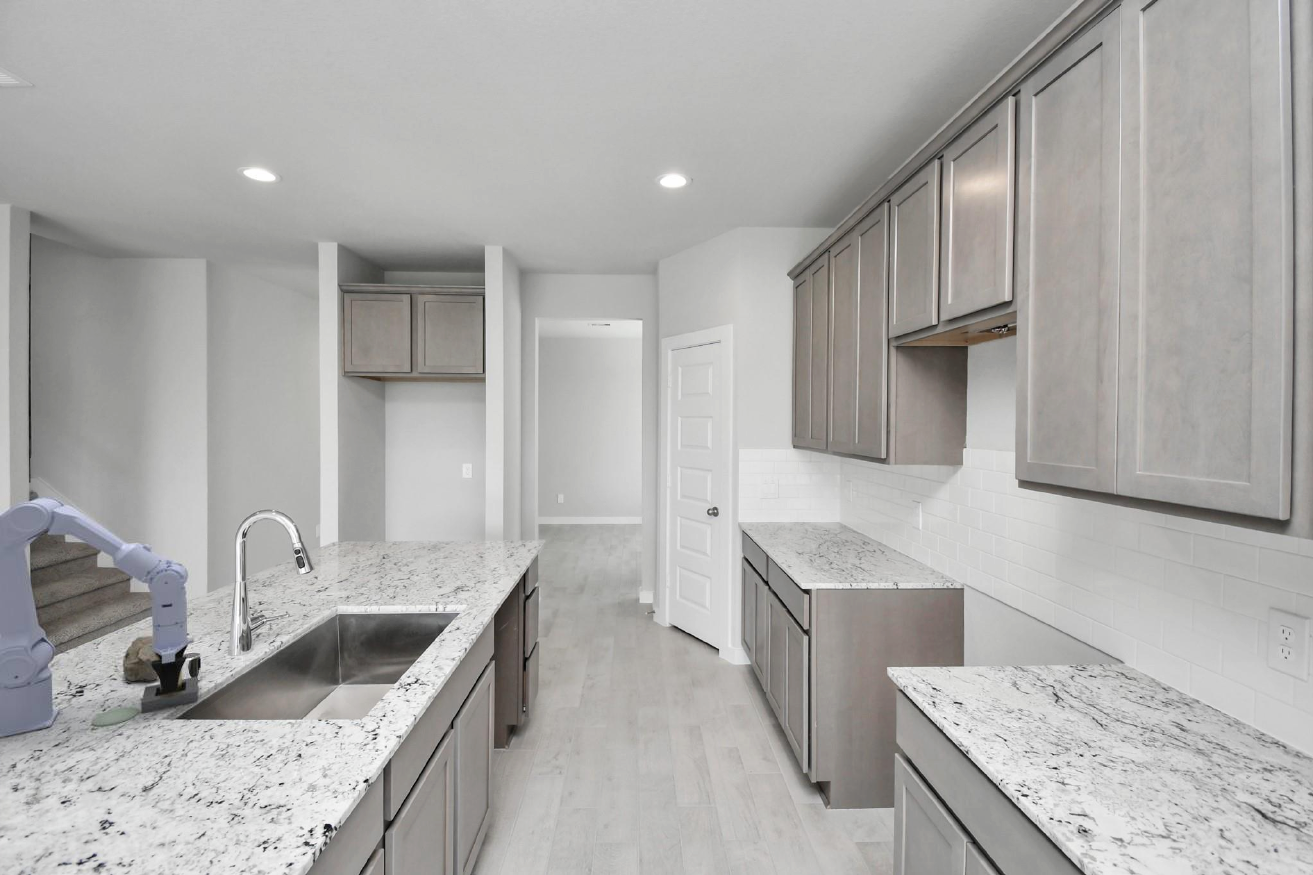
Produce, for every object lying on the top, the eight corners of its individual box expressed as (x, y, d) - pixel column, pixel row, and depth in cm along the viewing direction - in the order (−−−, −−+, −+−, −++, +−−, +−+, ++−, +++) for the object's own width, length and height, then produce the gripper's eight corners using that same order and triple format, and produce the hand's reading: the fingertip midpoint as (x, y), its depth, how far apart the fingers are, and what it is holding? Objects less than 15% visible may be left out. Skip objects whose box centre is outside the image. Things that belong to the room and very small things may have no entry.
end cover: (159, 704, 125) (159, 670, 125) (160, 698, 128) (160, 664, 128) (181, 700, 127) (181, 666, 127) (182, 693, 130) (181, 661, 130)
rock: (121, 665, 142) (127, 628, 140) (157, 662, 146) (163, 626, 144) (117, 699, 133) (124, 660, 131) (155, 694, 137) (162, 656, 135)
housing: (141, 713, 121) (141, 702, 121) (145, 697, 128) (145, 686, 128) (197, 701, 126) (197, 691, 126) (198, 686, 134) (197, 676, 134)
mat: (88, 729, 115) (88, 727, 115) (94, 715, 120) (94, 713, 120) (137, 719, 119) (136, 717, 119) (140, 705, 124) (140, 703, 124)
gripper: (192, 627, 124) (193, 692, 124) (194, 609, 135) (195, 669, 135) (148, 634, 119) (149, 701, 120) (153, 615, 131) (154, 676, 131)
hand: (171, 685), depth 127 cm, fingers open, 7 cm apart
